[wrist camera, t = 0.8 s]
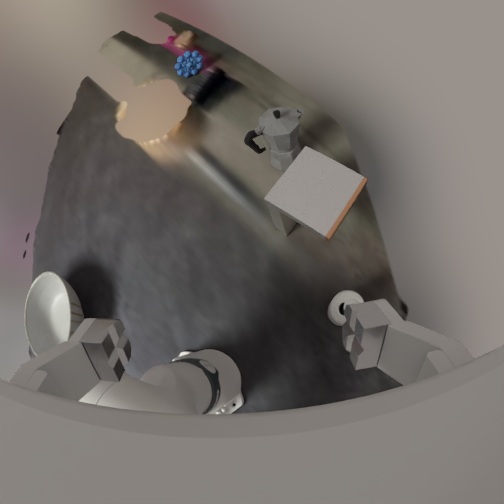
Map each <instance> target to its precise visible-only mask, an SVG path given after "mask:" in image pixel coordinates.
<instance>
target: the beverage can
mask: <svg viewBox="0 0 504 504" xmlns="http://www.w3.org/2000/svg"><path fill="white" fill-rule="evenodd" d="M363 302H364V300H363V298H362V297H361V296H360V295H359V294H358V293H357V292H355V291H352V290H344V291H341V292H339V293H338V294H337V295H336V296H335V297H334V298H333V300H332V301H331V303H330V304H329V307H328V317H329V319H330V320H331V322H332V323H334V324H335V325H338V326H343V324H344V323H345V322H346V321H347V320H346V318H345V316H344V310H345V307H346V305H350V304H357V303H363Z"/></svg>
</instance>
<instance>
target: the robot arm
mask: <svg viewBox="0 0 504 504" xmlns="http://www.w3.org/2000/svg"><path fill="white" fill-rule="evenodd" d="M344 316H345V318H346V320H347V321H346V322H345V323H344V324H343V326H342V340H343V344H344V347H345V349H346V350H347V351H349V352H351V353H350V360H351V362H352V364H353V366H354V368H355V370H359V369H364V368H370V367H375V366H377V367H378V368H379V369H381V370H382V371H384V372H385V373H386V374H388V375H389V376H391V377H392V378H394V379H395V380H396V381H398V382H399V383H401V384H402V385H404V386H401V387H398V388H394V389H391V390H387V391H383V392H379V393H376V394H372V395H368V396H363V397H359V398H354V399H350V400H345V401H340V402H335V403H329V404H324V405H318V406H311V407H304V408H297V409H289V410H280V411H270V412H257V413H240V414H231V413H233V412H234V411H235V410H237V409H238V408H240V407H241V406H242V405H243V404H244V399H243V396H242V393H241V375H240V372H239V369H238V367H237V365H236V364H235V362H234V361H233V360H232V359H231V358H230V357H229V356H227V355H226V354H224V353H223V352H220V351H217V350H213V349H205V350H201V351H198V352H190V351H184V352H181V353H180V355H179V357H177V358H174V359H173V361H172V362H170V363H169V364H164V365H158V366H154V367H152V368H150V369H149V370H148V371H146V373H145V374H144V375H143V376H142V378H141V379H140V380H139V379H137V378H134V377H132V376H131V375H129V374H127V373H126V372H124V371H125V369H124V367H123V365H125V364H126V363H127V362H129V359H130V357H131V346H130V342H129V339H128V338H127V337H126V336H125V335H124V334H123V332H124V330H125V328H124V325H123V323H122V321H121V320H119V319H101V318H98V319H97V318H86V319H84V321H83V322H82V323H81V325H80V326H79V327H78V328H77V330H76V331H75V332H74V334H73V335H72V336H71V338H70V339H69V340H68V341H64V342H62V343H61V344H59V345H57V346H55V347H53V348H51V349H50V350H48V351H46V352H44V353H42V354H41V355H39V356H37V357H35V358H33V359H31V360H30V361H28V362H26V363H24V364H23V365H21V367H20V368H19V369H18V371H17V372H16V374H15V375H14V377H13V378H12V379H11V380H10V382H8V381H6V380H3V379H0V504H504V345H503V346H500V347H499V348H497V349H495V350H493V351H491V352H489V353H486V354H485V355H482V356H480V357H478V358H476V359H474V358H473V357H472V355H471V354H470V353H469V352H468V351H467V349H466V348H464V346H463V345H462V344H461V343H460V342H459V341H457V340H455V339H452V338H450V337H447V336H444V335H442V334H440V333H437V332H435V331H432V330H430V329H427V328H424V327H422V326H420V325H417V324H415V323H412V322H410V321H404V320H403V319H402V318H401V317H400V316H399V314H398V313H397V312H396V311H395V310H394V309H393V307H392V306H391V305H390V304H389V303H388V301H387V300H386V299H378V300H373V301H369V302H363V303H357V304H350V305H346V307H345V310H344ZM233 403H235V404H236V406H234V405H233Z"/></svg>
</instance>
